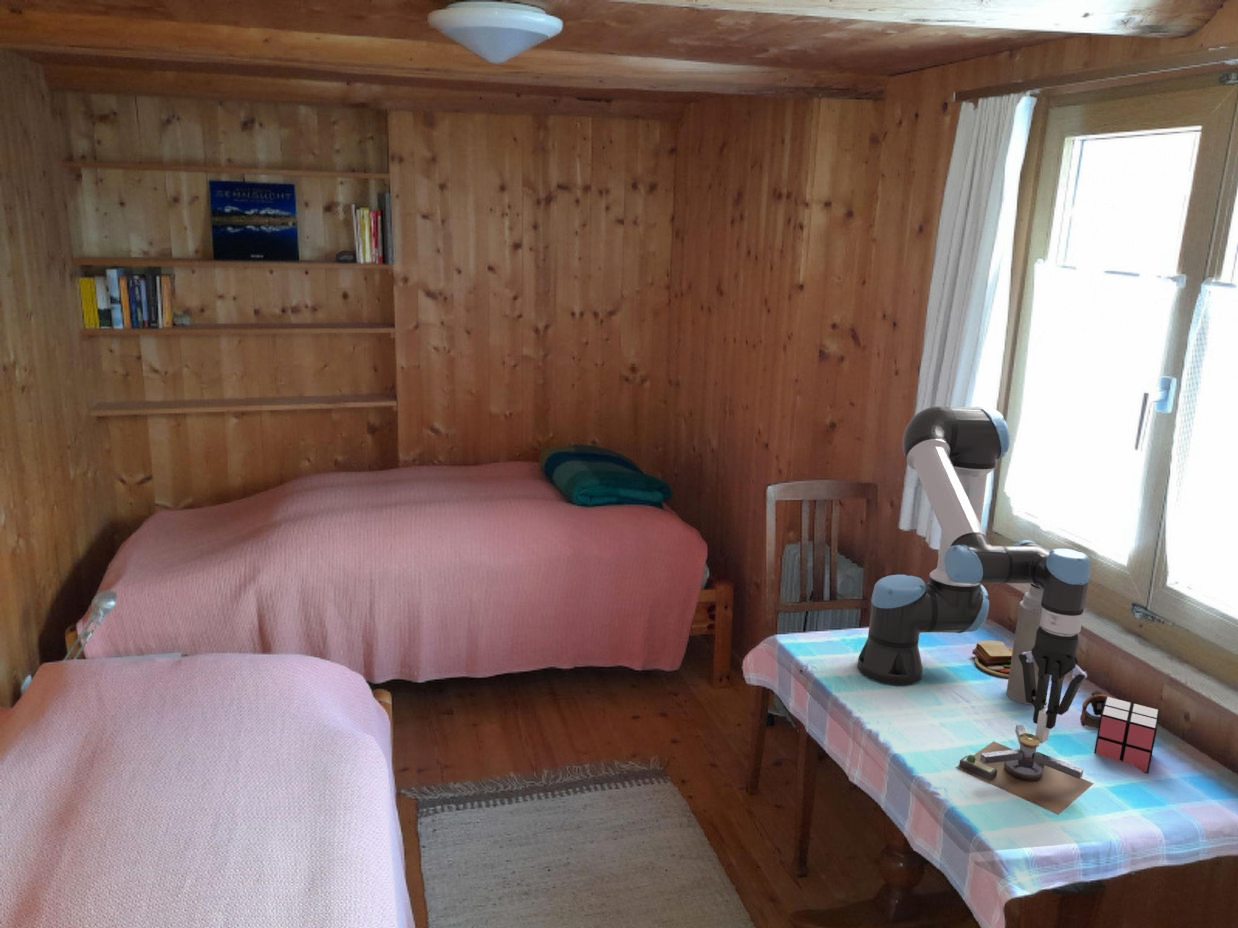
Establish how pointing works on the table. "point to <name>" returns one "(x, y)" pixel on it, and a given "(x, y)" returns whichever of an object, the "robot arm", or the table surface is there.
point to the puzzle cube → (1127, 732)
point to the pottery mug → (1097, 704)
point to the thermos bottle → (1024, 642)
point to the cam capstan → (1028, 759)
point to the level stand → (1047, 792)
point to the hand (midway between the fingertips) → (1041, 740)
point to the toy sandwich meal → (993, 657)
